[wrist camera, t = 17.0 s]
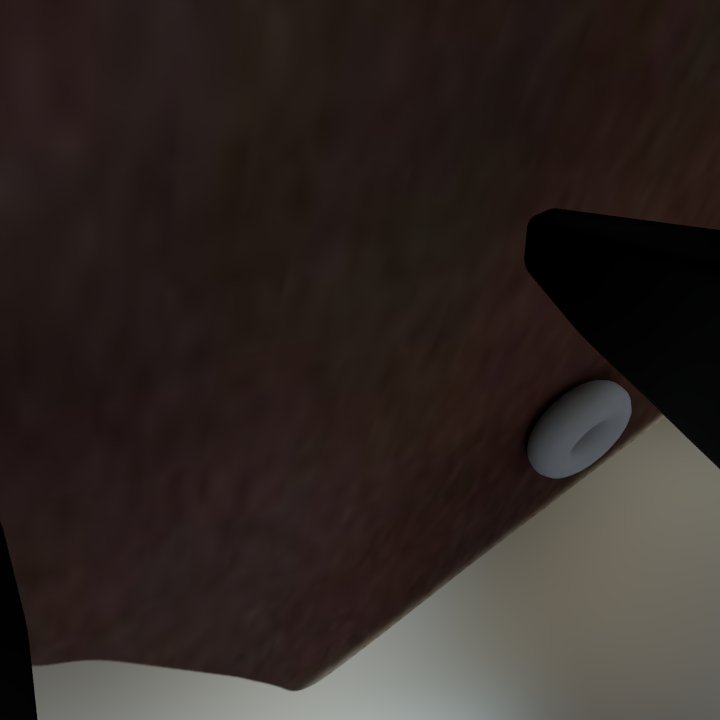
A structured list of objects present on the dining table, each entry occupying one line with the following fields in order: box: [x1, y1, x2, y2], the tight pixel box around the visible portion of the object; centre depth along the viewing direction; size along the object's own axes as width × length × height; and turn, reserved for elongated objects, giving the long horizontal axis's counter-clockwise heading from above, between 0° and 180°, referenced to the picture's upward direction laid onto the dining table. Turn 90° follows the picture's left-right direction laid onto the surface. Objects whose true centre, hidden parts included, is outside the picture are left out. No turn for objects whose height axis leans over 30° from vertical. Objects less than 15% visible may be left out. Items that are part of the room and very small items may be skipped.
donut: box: [527, 380, 631, 478], centre depth 44 cm, size 10×4×10 cm
